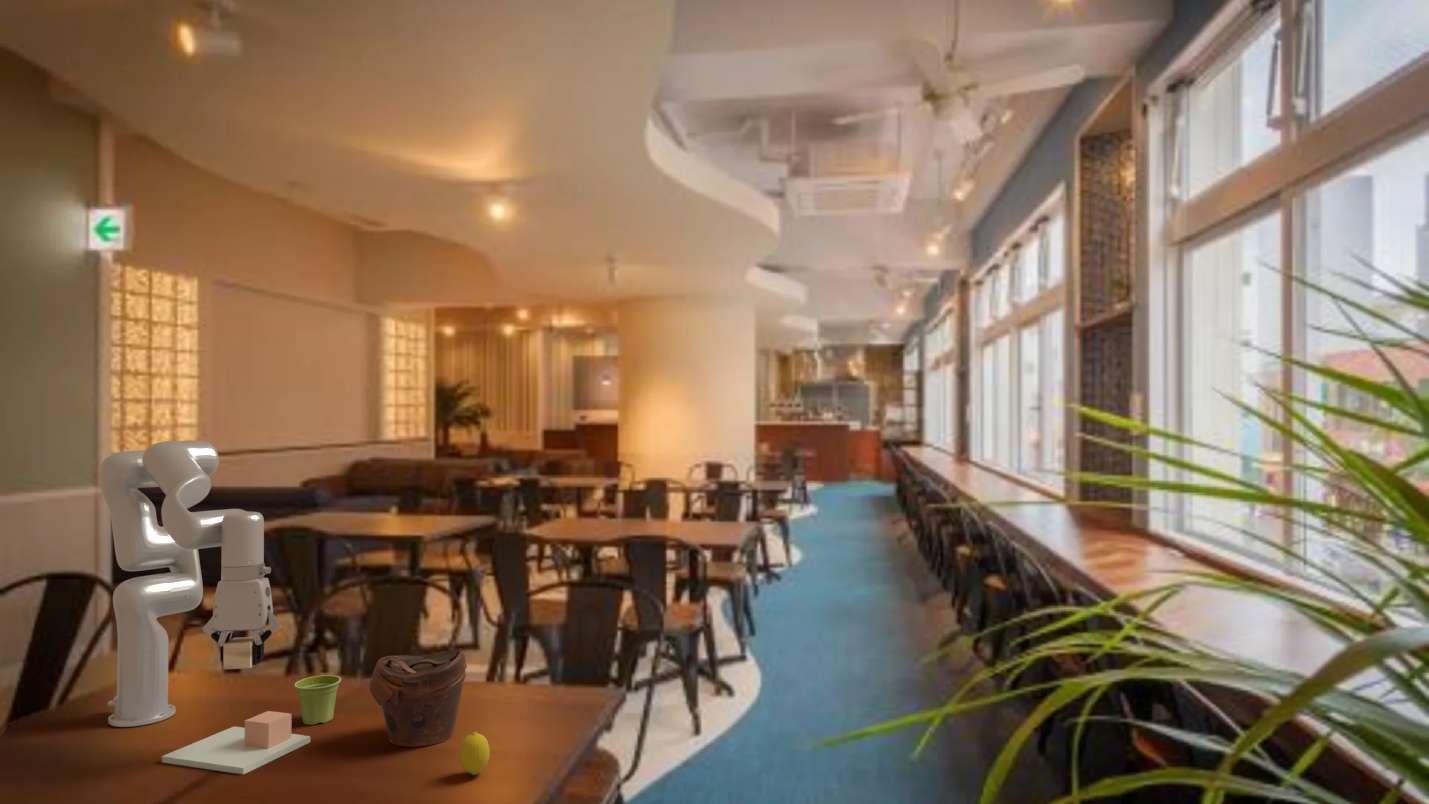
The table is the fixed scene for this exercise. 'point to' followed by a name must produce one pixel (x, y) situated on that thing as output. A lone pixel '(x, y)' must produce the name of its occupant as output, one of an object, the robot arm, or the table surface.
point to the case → (419, 696)
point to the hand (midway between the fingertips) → (242, 663)
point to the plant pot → (317, 698)
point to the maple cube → (238, 653)
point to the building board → (231, 752)
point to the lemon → (474, 753)
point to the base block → (267, 729)
